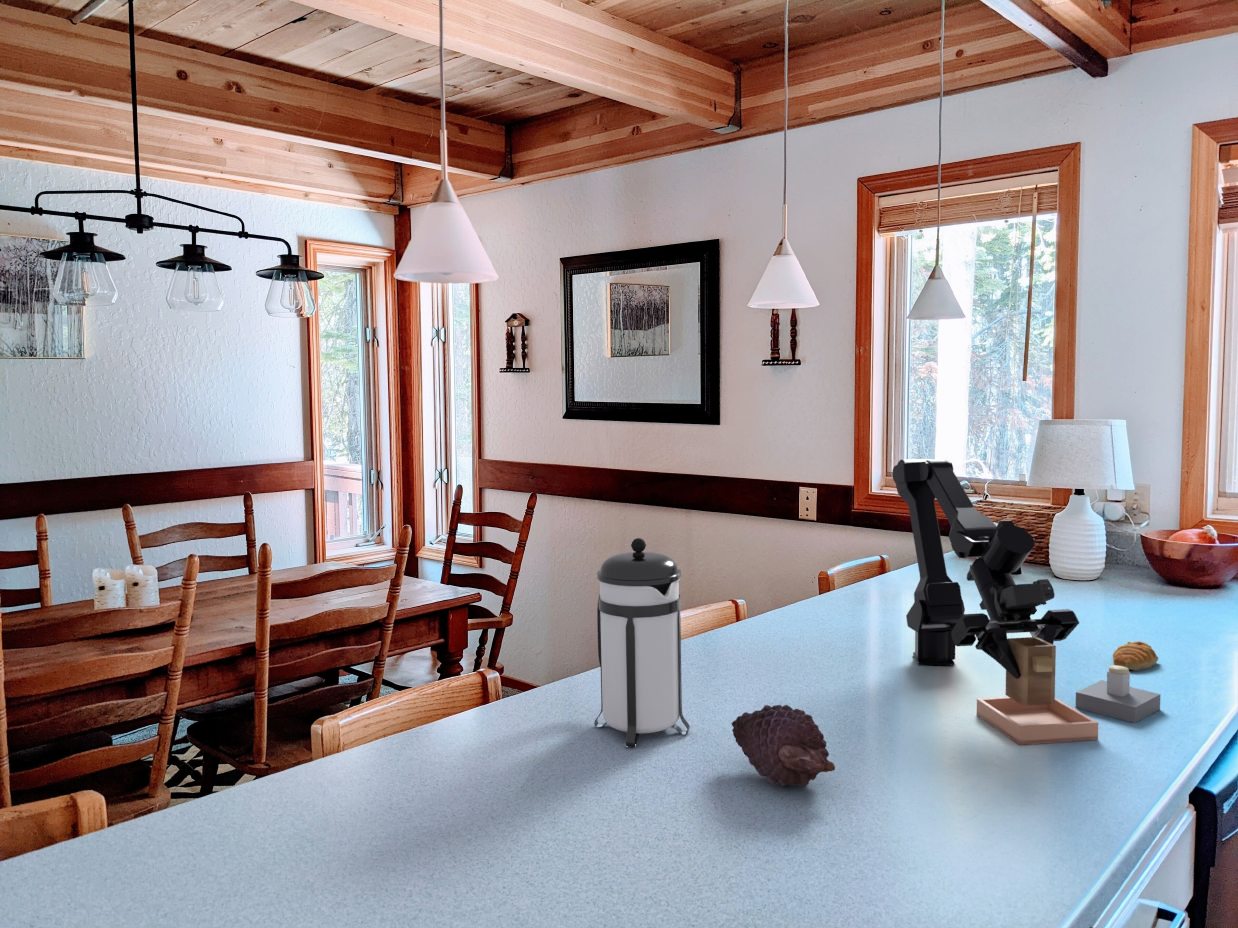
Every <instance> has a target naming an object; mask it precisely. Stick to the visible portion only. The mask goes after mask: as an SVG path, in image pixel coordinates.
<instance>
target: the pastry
mask: <svg viewBox="0 0 1238 928" xmlns="http://www.w3.org/2000/svg"><path fill="white" fill-rule="evenodd" d="M1112 661H1113V665H1117V666H1123V667H1126V668H1128V669H1129V670H1132V671H1143V670H1149V669H1150V668H1152V667H1153V666H1155V665H1156V664H1157V662H1159V657H1158V655H1157V654H1156V652H1155V650H1153V648H1152V646H1151V645H1150V644H1148V643H1146V642H1143V641H1132V642H1131V641H1128V642H1127V643H1124V644H1123V645H1120V646H1118V647H1117V649H1115V650H1114V652H1113V653H1112Z"/></svg>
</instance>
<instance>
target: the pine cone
mask: <svg viewBox="0 0 1238 928" xmlns="http://www.w3.org/2000/svg"><path fill="white" fill-rule="evenodd" d="M762 707H763V708H761V710H760V709H759V710H754V711H753V712H751V713H749V712H747V711H746V712H743V713H742V714H741V715H739V716H737V717H736V719H735V720H733V721H732V722H731V727H732V735H733V738H735V742H736V744H737V746H738V747H740V748H741V750H742V753H743V754H744V755H745V757H747V758H748V761H749V764H750V765H751V766H753V767H754V769H755V770H756V772H757V774H758V775H759V776H760V777H765V778H766V779H767V780H768V782H769V783H771V784H775V785H776V784H777V783H778V784H780V785H781V786H783V787H784V786H787V785H790V787H797V786H801V787H807V785H809V784H810V781H814V780H815V779H816V778H817V776H818V774H819V773H827V772H834V771H835V770H836V766H835V763H834V762H832V761H830V760H828V757H829V756H830V752H829V751H828V749H827V748H826V747H827V741H826V740H825V737H824V734H823V733H822V731H821V730H820V729H819V725H817V724H816V723H815V722H814V719H813V716H812V714H808V713H806V711H805V710H802V709H799V708H794V709H793V708H792V707H791V706H789V705H788V704H784V705H783V706H782V705H781V704H776V705H773V706H771V705H768V704H765V705H763V706H762Z"/></svg>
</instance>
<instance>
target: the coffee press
mask: <svg viewBox="0 0 1238 928" xmlns="http://www.w3.org/2000/svg"><path fill="white" fill-rule="evenodd" d="M630 547H631V549H632V551H633V552H632V551H631V552H624V553H623V552H622V553H619V554H618V553H617V554H615V555H611V556H609V557H608V558H606V559H605V560H604V561H603V562H602V564H601V566H600V568H599V570H598V571H597V572H596V579H597V581H598V582H599V596H598V600H597V606H596V607H597V610H596V612H597V614H596V615H597V616H596V618H597V624H596V625H597V652H598V661H599V662H598V663H599V666H600V695H601V696H600V697H601V698H600V700H601V701H600V702H601V706H600V707H601V710H600V712H599V714H598V716H597V717H596V718H595V720H594V724H593V725H594V726H595V727H596V726H597V725H598V724H600V723H599V721H598V719H599V717H600V716H601V715H602V717H603V719H604V723H602V724H603V726H602V728H603V727H605V726H606V725H608V726H609V727H611V728H613V729H615V730H617V731H621V732H624V733H626V739H625V747H626V746H628V747H627V748H633V747H635V744H637V745H638V739H639V735H640V734H651V733H652V734H653V733H657V732H661V731H665V730H668V729H670V728H673V729H674V730H676V731H677V732H678V733H679V734H680V735H681V734H682V732H683V731H684V730H683V729H682V728H681V727H680V726H679V725H678V724H676V723H677V722H678V721H679V719H680V721H681V722H682V724H683V725H684V726H685V728H686V729H687V730H685V731H686V735H687V734H688V733H689V731H690V729H691V727H690V724H689V723H688V721H687V720H686V719H685V717H684V714H683V703H682V701H683V696H682V691H683V689H682V688H683V687H682V636H681V635H682V634H681V633H682V628H681V627H682V626H681V622H682V621H681V617H682V616H681V594H680V593H679V592H680V591H679V589H680V588H679V583H680V580H681V577H682V571H681V570H680V569H679V568H678V565H677V563H676V561H675V560H674V559H673V558H672V557H670V556H668V555H665V554H663V553H657V552H650V551H644V550H646V547H647V544H646V541H645V540H644V539H642V538H641V537H637V538H634V539H633V540H632V541H631V544H630Z"/></svg>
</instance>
